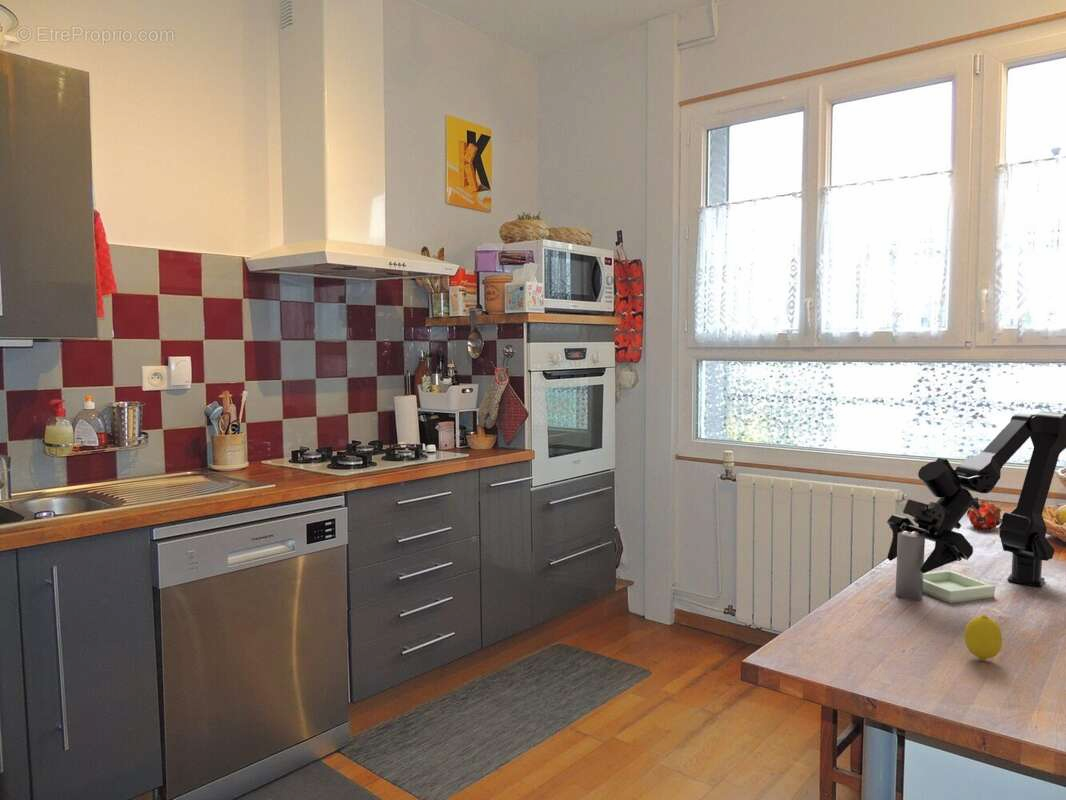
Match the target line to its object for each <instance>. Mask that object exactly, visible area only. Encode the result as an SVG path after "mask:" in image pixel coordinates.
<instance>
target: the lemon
mask: <svg viewBox="0 0 1066 800" xmlns="http://www.w3.org/2000/svg"><path fill="white" fill-rule="evenodd" d="M964 640H965V641H964V642H965V645H966V647H967V649H968V650H969V652H970V653H971V654H973V655H974V656H976V657H977V658H978V659H979V660H980V661H983V662H984V661H986V660H988V659H992V658H994V657H996V656H997V655H998V654H999V653H1000V651H1001V649H1002V646H1003V634H1002V630H1001V627H1000V626H999V624H998V623H997V622H996V621H995V620H993V619H992V618H990V617H989V616H987V615H986V614H982V615H981V616H980V615H979V616H975V617H973V618H972V619H970V620H969V621H968V623H967V625H966V627H965V630H964Z"/></svg>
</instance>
